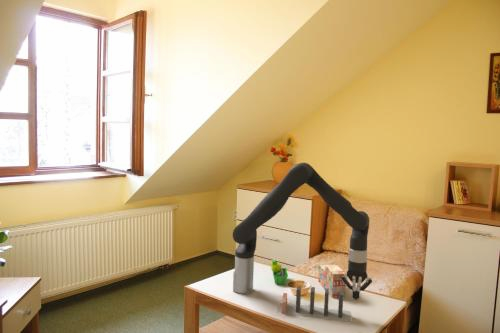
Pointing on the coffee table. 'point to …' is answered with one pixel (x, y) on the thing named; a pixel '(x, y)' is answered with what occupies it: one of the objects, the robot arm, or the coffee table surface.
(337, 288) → the multicoloured printed box
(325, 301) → the domino
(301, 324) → the coffee table surface
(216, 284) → the coffee table surface
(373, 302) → the coffee table surface
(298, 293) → the domino
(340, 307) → the domino
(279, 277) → the fruit basket
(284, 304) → the domino
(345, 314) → the mat
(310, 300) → the domino
